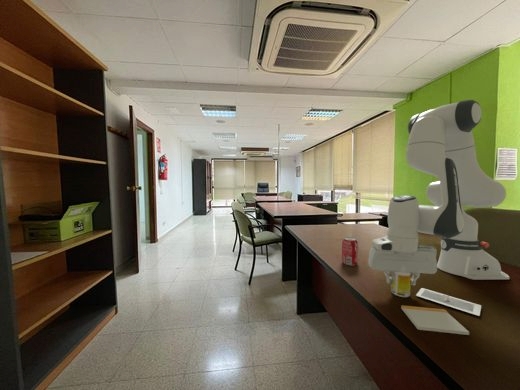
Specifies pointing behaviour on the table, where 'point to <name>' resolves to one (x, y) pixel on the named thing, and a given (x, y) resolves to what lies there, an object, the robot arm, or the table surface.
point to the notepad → (433, 320)
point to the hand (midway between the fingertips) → (400, 283)
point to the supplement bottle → (401, 283)
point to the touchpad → (450, 301)
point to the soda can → (350, 251)
